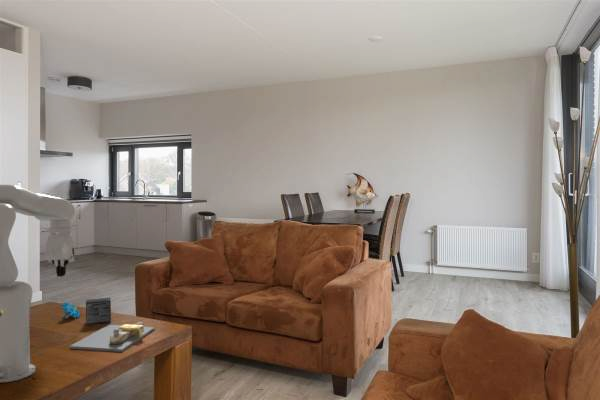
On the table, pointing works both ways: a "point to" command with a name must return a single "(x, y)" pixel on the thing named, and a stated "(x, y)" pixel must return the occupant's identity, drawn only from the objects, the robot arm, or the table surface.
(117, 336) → the link
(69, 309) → the blue irregular piece
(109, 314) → the small box
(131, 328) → the keeper
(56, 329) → the table surface
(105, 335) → the board
